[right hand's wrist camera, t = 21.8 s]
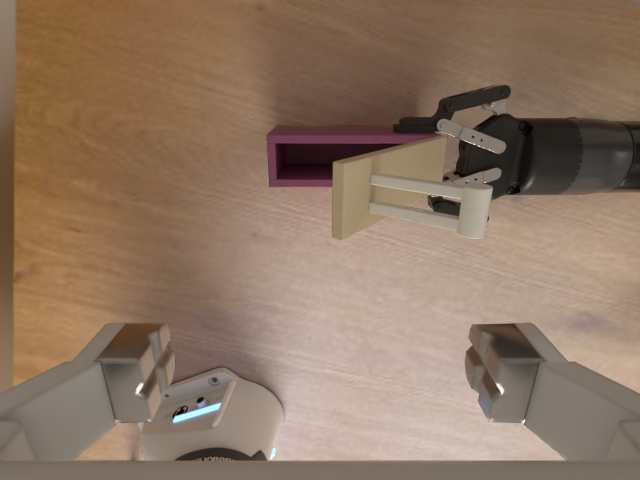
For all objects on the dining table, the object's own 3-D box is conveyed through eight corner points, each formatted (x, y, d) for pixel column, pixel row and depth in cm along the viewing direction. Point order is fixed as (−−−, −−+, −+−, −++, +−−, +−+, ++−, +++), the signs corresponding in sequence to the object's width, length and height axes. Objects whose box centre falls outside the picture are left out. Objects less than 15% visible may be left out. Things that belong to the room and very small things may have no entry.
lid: (331, 238, 25) (462, 273, 20) (332, 161, 23) (476, 181, 18) (432, 187, 37) (528, 202, 32) (438, 135, 35) (540, 143, 31)
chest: (278, 168, 46) (269, 187, 37) (276, 125, 44) (266, 134, 36) (414, 168, 46) (435, 187, 37) (418, 125, 44) (441, 135, 36)
